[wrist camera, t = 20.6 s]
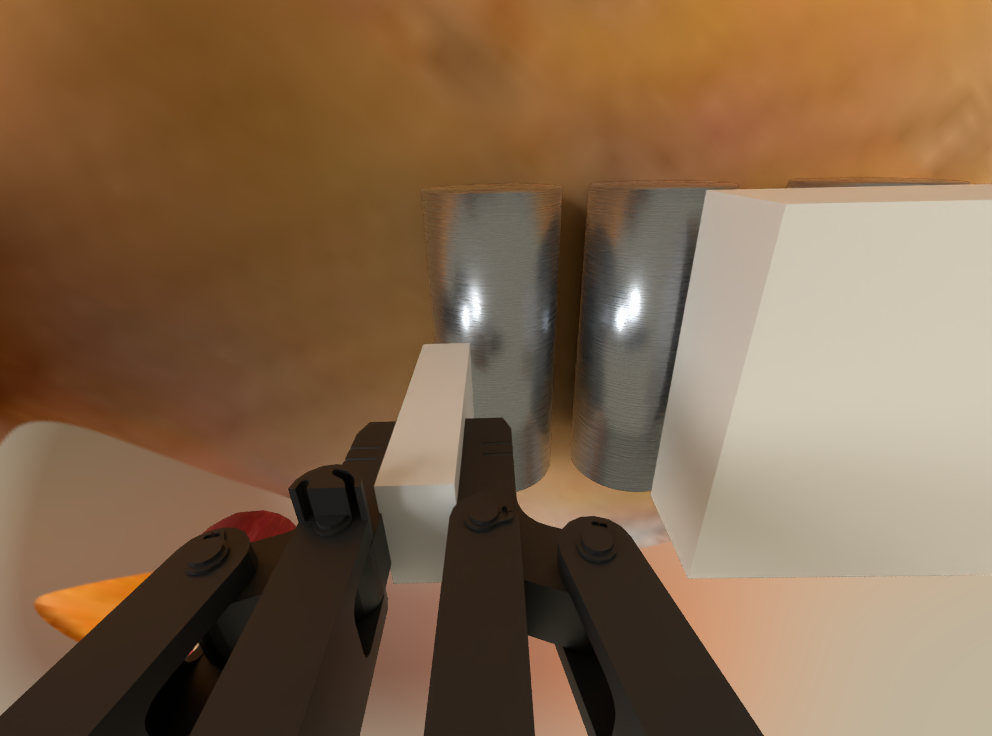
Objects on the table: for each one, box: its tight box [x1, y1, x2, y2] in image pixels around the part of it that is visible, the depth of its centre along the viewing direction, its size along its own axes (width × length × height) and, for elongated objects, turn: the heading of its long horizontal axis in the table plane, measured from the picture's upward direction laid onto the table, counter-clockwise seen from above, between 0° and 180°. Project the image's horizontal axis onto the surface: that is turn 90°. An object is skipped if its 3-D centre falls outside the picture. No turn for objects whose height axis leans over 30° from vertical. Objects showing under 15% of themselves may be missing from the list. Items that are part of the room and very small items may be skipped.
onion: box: [189, 511, 296, 655], centre depth 22 cm, size 6×6×8 cm
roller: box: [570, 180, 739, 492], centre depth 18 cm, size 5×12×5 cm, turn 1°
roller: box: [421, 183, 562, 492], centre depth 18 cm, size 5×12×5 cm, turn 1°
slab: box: [651, 184, 992, 579], centre depth 14 cm, size 16×12×4 cm
